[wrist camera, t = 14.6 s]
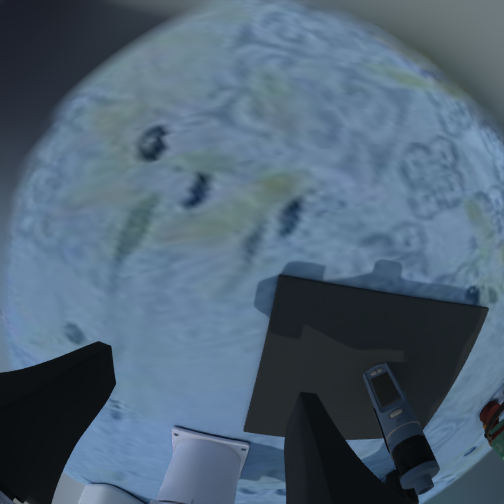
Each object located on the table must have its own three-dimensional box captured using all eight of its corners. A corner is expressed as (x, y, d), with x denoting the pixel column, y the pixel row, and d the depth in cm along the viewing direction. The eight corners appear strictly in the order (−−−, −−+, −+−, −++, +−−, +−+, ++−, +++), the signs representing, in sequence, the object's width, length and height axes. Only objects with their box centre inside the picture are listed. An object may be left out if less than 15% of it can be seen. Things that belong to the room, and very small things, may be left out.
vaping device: (387, 355, 19) (448, 471, 7) (397, 394, 20) (442, 496, 8) (358, 369, 19) (402, 494, 7) (372, 406, 20) (406, 513, 8)
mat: (418, 432, 21) (419, 434, 21) (243, 428, 22) (243, 431, 22) (486, 307, 17) (489, 308, 17) (279, 274, 18) (279, 275, 18)
